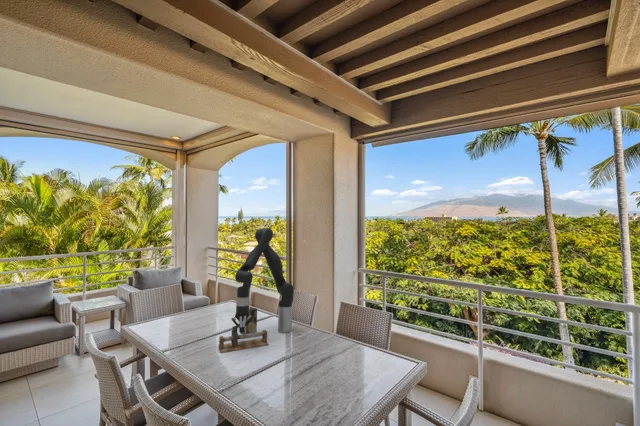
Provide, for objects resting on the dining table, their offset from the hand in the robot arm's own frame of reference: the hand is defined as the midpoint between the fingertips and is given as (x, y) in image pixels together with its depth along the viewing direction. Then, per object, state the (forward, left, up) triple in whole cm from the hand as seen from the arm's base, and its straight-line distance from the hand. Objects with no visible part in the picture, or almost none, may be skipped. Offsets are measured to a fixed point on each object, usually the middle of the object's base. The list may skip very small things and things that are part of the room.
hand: (241, 332), depth 171 cm
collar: (+4, 0, -6) cm, 7 cm away
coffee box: (-9, -19, -8) cm, 22 cm away
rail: (-2, 0, -8) cm, 8 cm away
